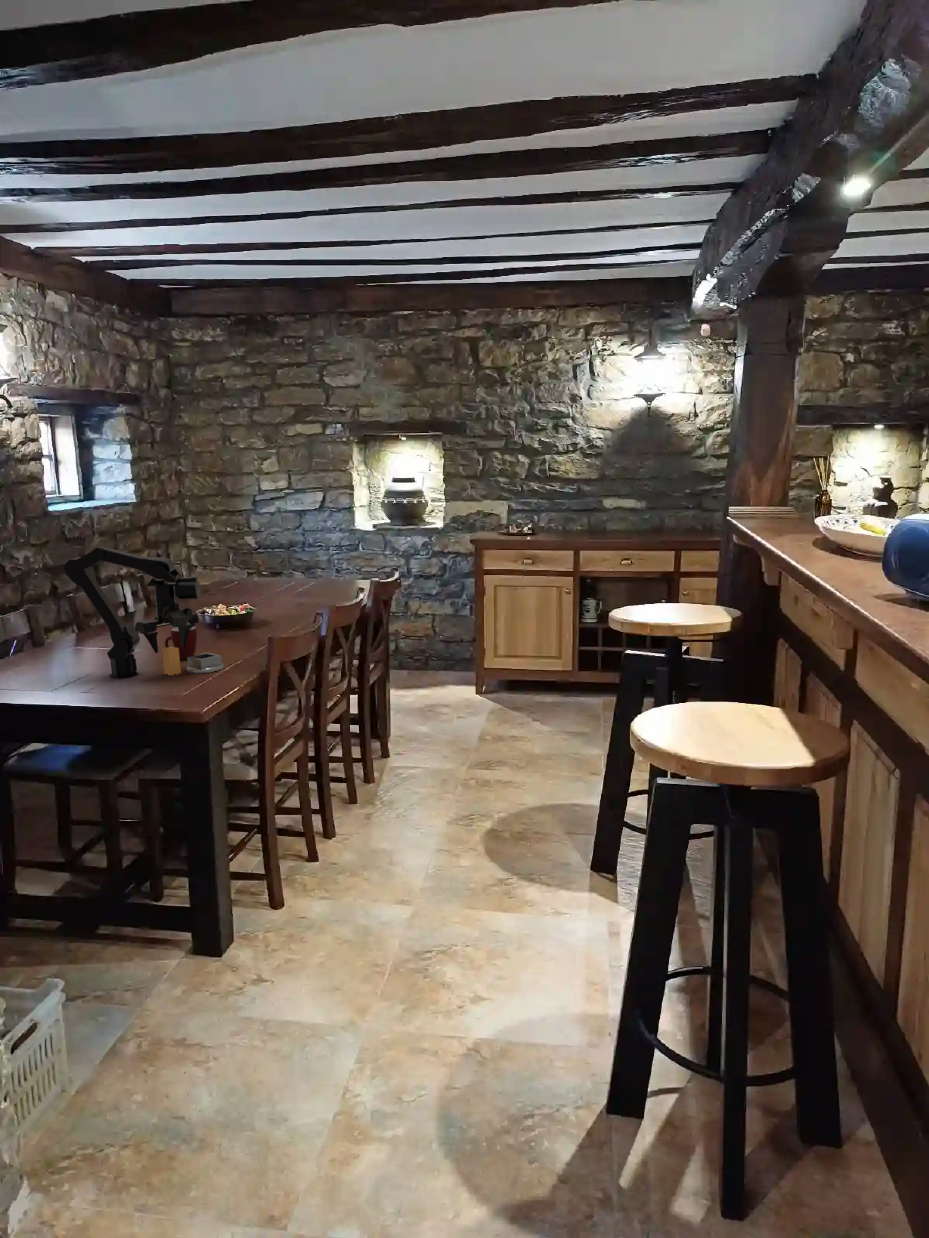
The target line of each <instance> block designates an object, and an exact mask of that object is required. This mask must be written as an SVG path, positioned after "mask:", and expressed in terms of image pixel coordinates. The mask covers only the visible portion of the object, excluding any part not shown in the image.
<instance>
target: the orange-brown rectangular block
mask: <svg viewBox="0 0 929 1238" xmlns="http://www.w3.org/2000/svg"><path fill="white" fill-rule="evenodd" d="M161 650H162V651H161V652H162V660H163V663H162V664H163V673H164V675H166V674H168V675H167V676H170V675H172V676H175V675H174V674H176V675H180V674H181V673H182V671H181V670H182V669H181V659H180V658H179V648H176V647H174V646H169V647H168V648H166V647H164V648H162V649H161Z"/></svg>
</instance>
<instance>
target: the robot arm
mask: <svg viewBox="0 0 929 1238" xmlns="http://www.w3.org/2000/svg"><path fill="white" fill-rule="evenodd" d="M101 562H106V563H110V564H115V565H117V566H122V567H127V568H130V569H134V570H138V571H141V572H142V573H145V574H146V575H147V576H149V577H152V578H151V579H150V581H148V582H147V583H146V586H147V587H154V597H155V602H154V603H153V607H154V608H156V609H155V610H156V616H154V620H155V621H153V620H148V619H146V620H145V619H144V620H139V621H136V623H135V624H134V623H133V622H130V623H129V624H128V623H126V622H125V621H123V619H122V618H121V616H120V614H119V613H118V612H117V610H116V609H115V607H114V606H113V605H112V603H111V601H110V599H109V598H108V596H107V595H106V594H105V592H104V590H103V588H102V587H101V586H100V585H99V583H98V581H97V578H96V573H95V569H94V566H96V565H98V564H99V563H101ZM63 567H64V568H63V572H64V574H65V576H67V577H68V578H69V580H70V581H72V583H73V584H75V585H77V586H78V587H79V588H80V589H82V591H83V593H84V594H85V596H87V598H88V599H89V601H90V602H91V605H92V606H93V607H94V608H95V610H96V612H97V613H98V614H99V616H100V618H101V619H102V621H103V622H104V623H105V625H106V626H107V629H108V631H109V635H110V640H111V642H112V644H113V646H112V647H111V648H110V649H109V650H108V651H107V652H106V654H107V655H106V656H107V657H108V659H109V660H110V670H111V673H109V674H108V675H109V676H110V677H113V678H116V679H125V678H128V677H132V676H137V675H139V671H138V668H137V667H138V666H137V659H136V658H135V654H133V653H134V652H135V651H136V650H135V649H136V648H137V647H138V645H140V641H141V638H140V635H139V634H142V635H144V637H145V638H146V640H147V641H148V643H149V644H150V647H151V648H152V650H153V652H154V653H155V654H158V653H159V646H158V645H159V644H158V637H157V636H158V633H159V632H158V631H156V630H157V629H158V628H162V627H166V626H172V627H173V628H176V627H178V630H179V636H180V642H181V646H182V647H185V644H186V640H187V637H188V634H189V631H190V629H191V628H192V627H193V626H194V627H196V624H199V623H200V617H199V615H198V614H197V613H193V609H192V608H190V607H188V608H187V607H186V608H184V609H181V608H180V605H179V602H176V598H178V599H179V600H183V601H184V600H200V598H201V597H202V596H201V595H202V588H201V587H202V586H201V584H200V581H199V579H198V578H199V577H198V576H191V577H183V575H182V574H181V573H180V572H179V571H178V569H177V568H176V567H175V563H174V562H173V560H172V559H170V558H168V557H158V556H157V557H156V556H143V555H138V554H135V553H130V552H126V551H123V550H118V549H114V548H111V547H110V548H109V547H107V546H105V545H102V546H98V547H95V548H93V550H91V551H90V552H87V553H86V554H84V555H83V556H78V557H75V558H72V559H69V560H67V561H66V562H65V564H64V566H63Z"/></svg>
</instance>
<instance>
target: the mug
mask: <svg viewBox="0 0 929 1238" xmlns="http://www.w3.org/2000/svg"><path fill="white" fill-rule="evenodd" d="M197 638H198V633H197V626H193V627H192V628H191V629H190V631H189V634H188V637H187V640H186V644H185V647H182V646H181V642H180V636H179V630H178V627H173V628H171V629H170V636H168V637H166V638H165V640H164V648H168V647H170V646H169V641H170V640H171V641H172V644H173V647H176V648H179V658H180V660H187V657H189V656H194V655H195V653H196V649H197V640H198V639H197Z"/></svg>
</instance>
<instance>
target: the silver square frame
mask: <svg viewBox="0 0 929 1238" xmlns="http://www.w3.org/2000/svg"><path fill="white" fill-rule="evenodd" d="M186 660H187V666H186V672H187V673H188V672H189V673H188V674H193V673H194V674H196V675H197V674H198V675H203V673H205V674H212V673H215V672H214V671H217V672H220V671H222V670H223V669H224V663H223V662H222V661H223V660H222V655H221V654H217V653H216V654H215V653H212V652H202V653H200V654H194V655H193V656H189V657H187V659H186ZM221 669H222V670H221ZM219 670H220V671H219ZM211 672H212V673H211Z"/></svg>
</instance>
